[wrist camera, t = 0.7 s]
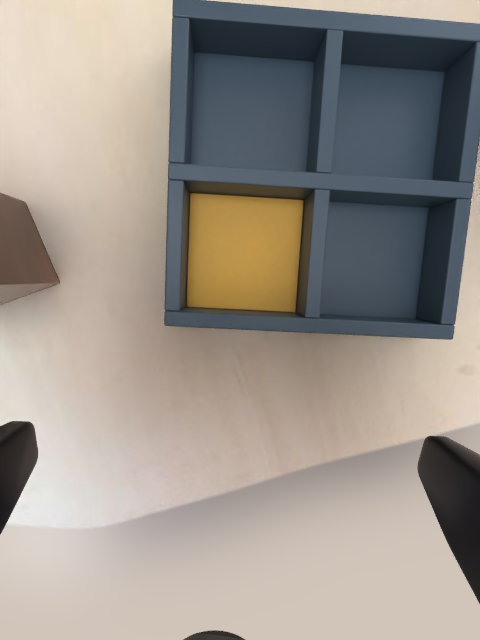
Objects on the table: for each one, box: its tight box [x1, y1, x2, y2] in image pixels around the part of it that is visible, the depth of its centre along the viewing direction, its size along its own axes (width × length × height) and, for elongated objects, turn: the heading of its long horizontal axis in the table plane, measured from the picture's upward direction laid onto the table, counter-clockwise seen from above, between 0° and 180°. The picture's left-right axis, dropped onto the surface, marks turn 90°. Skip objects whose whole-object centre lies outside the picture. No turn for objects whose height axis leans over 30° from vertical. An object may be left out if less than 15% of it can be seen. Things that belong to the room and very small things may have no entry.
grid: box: [164, 0, 480, 340], centre depth 19 cm, size 15×15×3 cm
